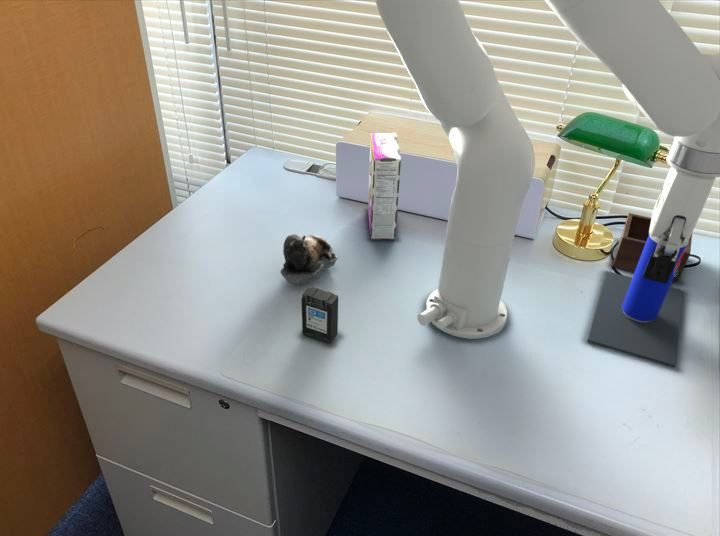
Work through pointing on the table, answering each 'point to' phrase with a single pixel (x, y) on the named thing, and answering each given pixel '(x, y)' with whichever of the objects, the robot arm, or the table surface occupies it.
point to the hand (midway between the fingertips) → (657, 262)
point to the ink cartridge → (319, 314)
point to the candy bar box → (383, 185)
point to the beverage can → (648, 286)
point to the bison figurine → (306, 258)
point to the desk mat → (636, 324)
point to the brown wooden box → (639, 245)
